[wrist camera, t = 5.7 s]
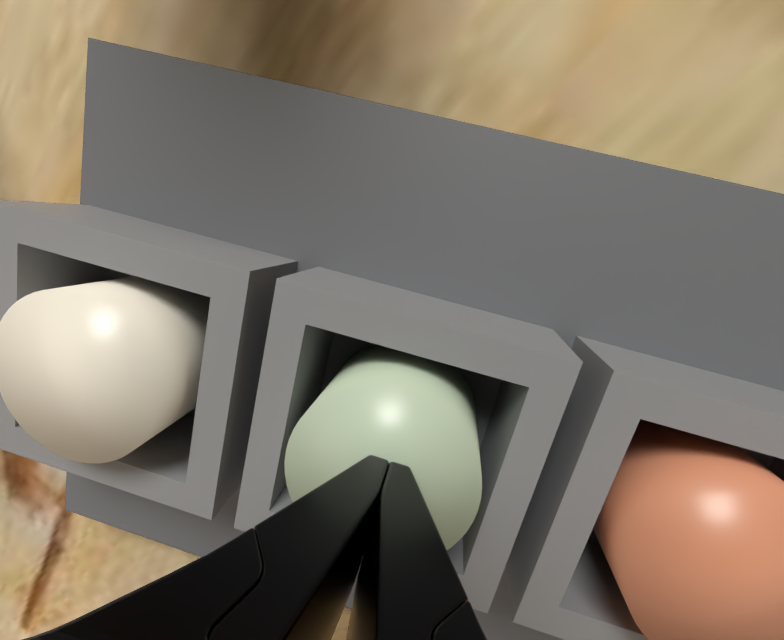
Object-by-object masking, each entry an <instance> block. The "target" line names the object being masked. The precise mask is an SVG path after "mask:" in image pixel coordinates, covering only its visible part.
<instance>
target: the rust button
mask: <svg viewBox="0 0 784 640" xmlns="http://www.w3.org/2000/svg"><path fill="white" fill-rule="evenodd" d="M593 530H594V532H595V534H596V536H597V539H598V541H599V543H600V545H601V548H602V550H603V552H604V554H605V557H606V559H607V561H608V563H609V566H610V568H611V570H612V572H613V575H614V577H615V579H616V581H617V584H618V586H619V588H620V590H621V593H622V595H623V597H624V599H625V602H626V604H627V606H628V608H629V611H630V613H631V615H632V617H633V619H634V621H635V623H636V624H637V626H638V627H639V629H640V630H641V632H642V633H643V634H644V635H645V636H646V637H647V639H648V640H784V481H783V480H781V479H780V478H779V477H777V476H776V475H775V474H774V473H772V472H771V471H770V470H768V469H767V468H766V467H765V466H763V465H762V464H761V463H760V462H758V461H757V460H756V459H754V458H753V457H752V456H751V455H749V454H748V453H747V452H745V451H744V450H743V449H742V448H740V447H738V446H734V445H731V444H727V443H724V442H720V441H717V440H713V439H710V438H706V437H703V436H699V435H696V434H692V433H688V432H685V431H681V430H678V429H674V428H671V427H667V426H664V425H660V424H657V423H653V422H650V421H646V420H643V419H640V421H639V423H638V425H637V428H636V430H635V432H634V435H633V437H632V439H631V442H630V444H629V446H628V449H627V451H626V453H625V455H624V458H623V460H622V462H621V465H620V467H619V469H618V472H617V474H616V476H615V479H614V481H613V483H612V485H611V488H610V490H609V492H608V495H607V497H606V499H605V502H604V504H603V506H602V509H601V511H600V513H599V515H598V518H597V520H596V522H595V525H594V527H593Z"/></svg>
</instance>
